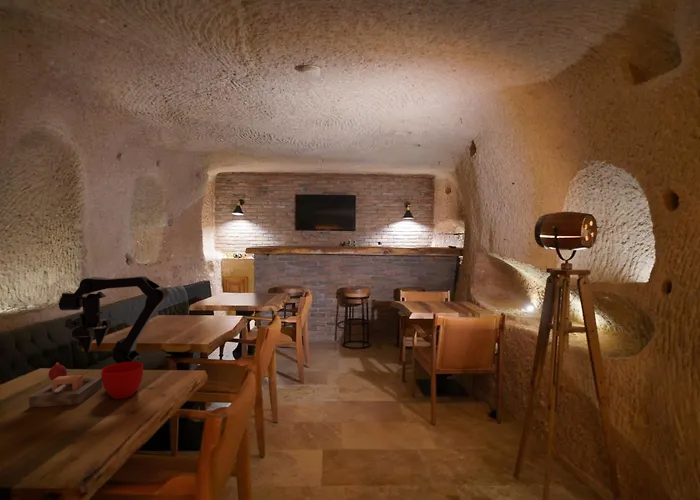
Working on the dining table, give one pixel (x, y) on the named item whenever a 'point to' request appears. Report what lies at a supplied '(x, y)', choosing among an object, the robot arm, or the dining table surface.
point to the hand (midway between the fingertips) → (92, 349)
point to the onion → (57, 371)
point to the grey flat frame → (65, 394)
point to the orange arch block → (68, 382)
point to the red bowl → (122, 379)
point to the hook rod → (61, 388)
